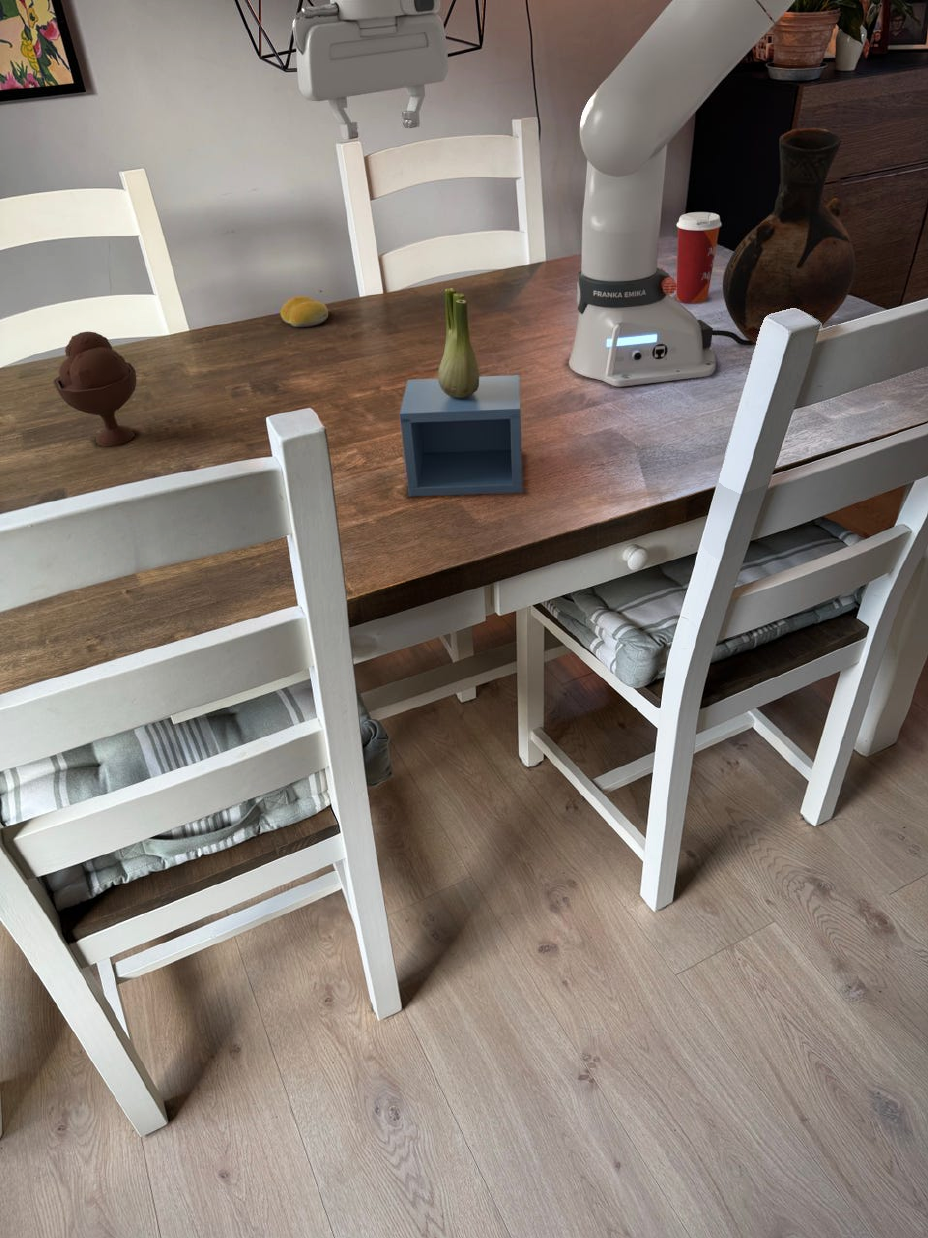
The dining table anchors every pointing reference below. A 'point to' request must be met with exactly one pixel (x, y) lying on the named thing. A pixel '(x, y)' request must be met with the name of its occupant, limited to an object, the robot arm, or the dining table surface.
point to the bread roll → (304, 312)
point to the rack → (462, 438)
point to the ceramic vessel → (793, 243)
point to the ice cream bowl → (97, 383)
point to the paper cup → (696, 255)
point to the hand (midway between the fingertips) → (381, 132)
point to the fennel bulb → (457, 350)
